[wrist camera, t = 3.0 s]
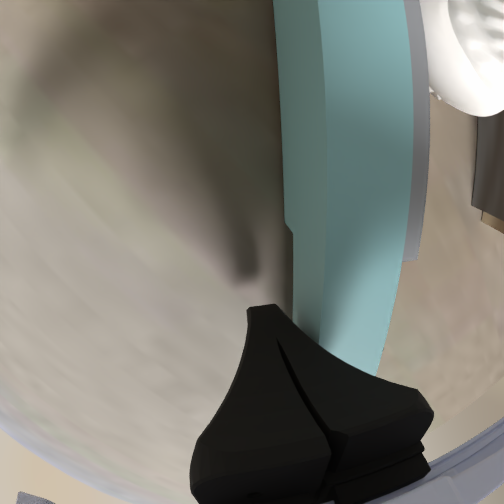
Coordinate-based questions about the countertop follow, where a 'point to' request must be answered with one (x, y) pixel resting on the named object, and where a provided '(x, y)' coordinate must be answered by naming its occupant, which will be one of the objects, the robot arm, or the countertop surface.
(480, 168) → the wooden block
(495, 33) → the white ribbed dome
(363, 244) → the movable jaw
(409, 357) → the countertop surface
